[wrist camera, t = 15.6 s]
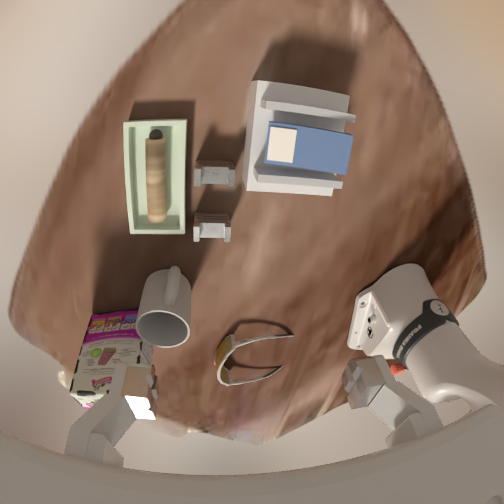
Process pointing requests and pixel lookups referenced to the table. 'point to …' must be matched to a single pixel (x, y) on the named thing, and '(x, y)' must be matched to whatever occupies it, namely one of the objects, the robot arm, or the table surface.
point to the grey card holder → (295, 112)
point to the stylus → (156, 176)
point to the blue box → (308, 147)
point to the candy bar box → (107, 354)
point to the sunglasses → (227, 348)
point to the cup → (165, 309)
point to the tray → (174, 175)
